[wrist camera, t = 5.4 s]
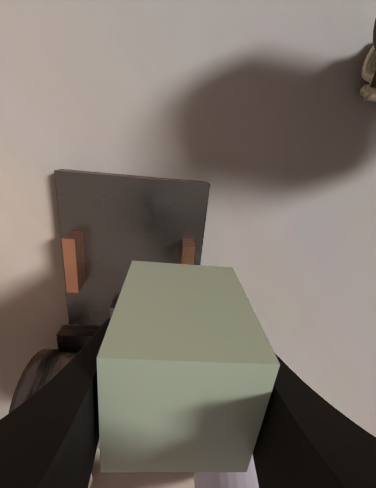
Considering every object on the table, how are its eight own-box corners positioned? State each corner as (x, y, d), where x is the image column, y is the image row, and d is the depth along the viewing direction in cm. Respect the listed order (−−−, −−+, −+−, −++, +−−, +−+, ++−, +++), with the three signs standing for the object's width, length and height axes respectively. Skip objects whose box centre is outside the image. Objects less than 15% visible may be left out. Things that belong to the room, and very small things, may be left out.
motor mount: (200, 381, 25) (210, 472, 18) (62, 378, 23) (15, 474, 17) (230, 184, 18) (266, 208, 11) (35, 166, 17) (-62, 181, 10)
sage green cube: (214, 366, 15) (238, 498, 9) (129, 363, 14) (101, 499, 9) (232, 267, 13) (280, 364, 7) (132, 260, 12) (96, 357, 6)
